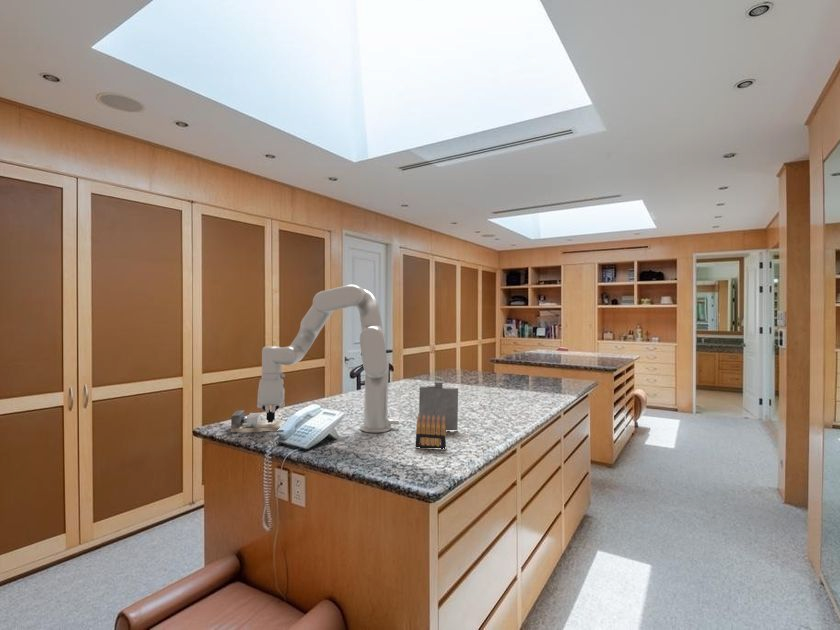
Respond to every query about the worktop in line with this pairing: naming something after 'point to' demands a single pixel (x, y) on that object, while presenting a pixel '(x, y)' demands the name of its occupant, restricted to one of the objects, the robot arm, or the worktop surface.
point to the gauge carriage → (252, 419)
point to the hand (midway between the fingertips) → (270, 421)
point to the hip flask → (439, 404)
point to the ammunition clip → (430, 433)
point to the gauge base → (242, 427)
